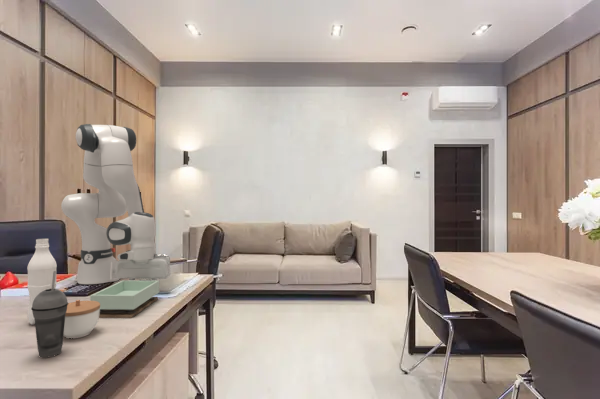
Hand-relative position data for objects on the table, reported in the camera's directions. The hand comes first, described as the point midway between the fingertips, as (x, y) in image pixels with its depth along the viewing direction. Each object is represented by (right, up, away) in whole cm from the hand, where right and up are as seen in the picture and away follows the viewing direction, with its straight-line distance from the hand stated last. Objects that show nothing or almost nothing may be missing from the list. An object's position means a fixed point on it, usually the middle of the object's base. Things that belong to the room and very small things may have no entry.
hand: (143, 289), depth 137 cm
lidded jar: (0, -2, -40) cm, 40 cm away
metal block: (0, -2, 0) cm, 2 cm away
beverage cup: (+1, -2, -52) cm, 52 cm away
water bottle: (-16, -2, -31) cm, 35 cm away
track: (-2, -2, -17) cm, 17 cm away
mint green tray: (+2, 0, -17) cm, 17 cm away
